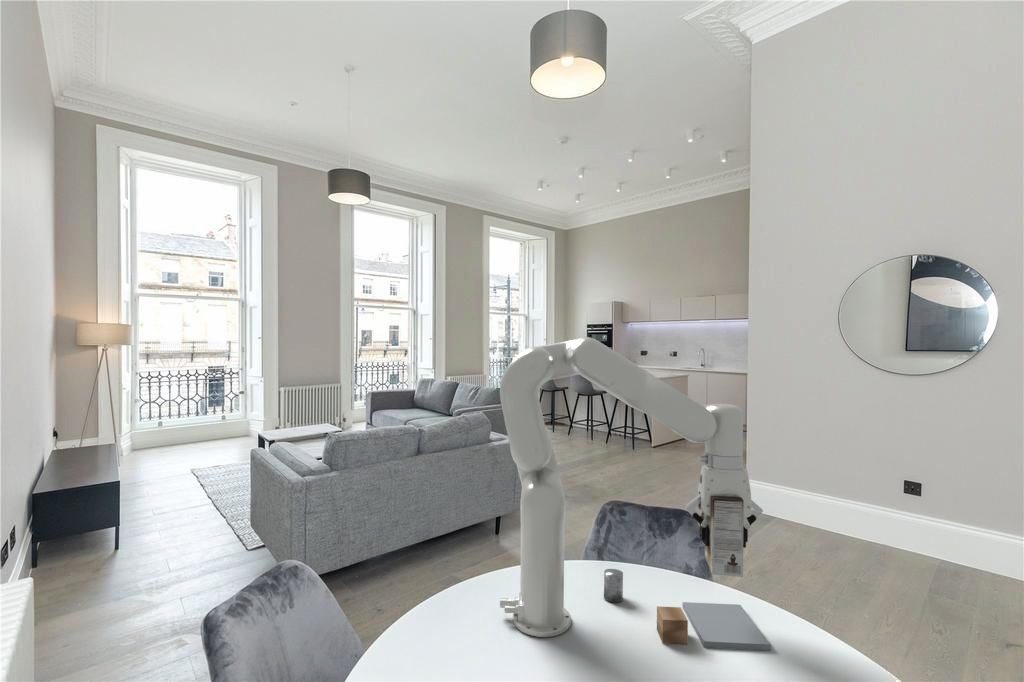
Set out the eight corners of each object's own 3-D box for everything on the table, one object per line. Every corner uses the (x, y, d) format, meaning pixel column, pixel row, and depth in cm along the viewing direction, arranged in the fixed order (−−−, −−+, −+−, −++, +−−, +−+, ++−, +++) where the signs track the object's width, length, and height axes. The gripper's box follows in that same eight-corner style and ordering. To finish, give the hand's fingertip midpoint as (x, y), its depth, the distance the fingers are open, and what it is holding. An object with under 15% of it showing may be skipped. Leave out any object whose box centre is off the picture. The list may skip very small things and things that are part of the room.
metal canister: (608, 603, 113) (608, 576, 113) (601, 594, 117) (601, 569, 118) (625, 601, 114) (626, 575, 114) (618, 593, 118) (618, 568, 119)
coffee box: (703, 556, 109) (703, 485, 110) (733, 559, 108) (734, 487, 108) (711, 575, 100) (712, 497, 101) (744, 578, 99) (745, 499, 99)
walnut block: (662, 644, 98) (662, 619, 98) (656, 630, 103) (656, 606, 103) (687, 645, 98) (687, 620, 98) (680, 631, 103) (680, 607, 103)
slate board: (703, 647, 97) (703, 641, 97) (682, 607, 112) (682, 602, 112) (770, 650, 96) (770, 644, 96) (740, 609, 111) (740, 604, 111)
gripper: (687, 464, 101) (687, 550, 101) (773, 467, 100) (773, 553, 100) (677, 456, 109) (677, 536, 109) (757, 458, 108) (757, 539, 107)
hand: (723, 543), depth 104 cm, fingers closed on coffee box, 6 cm apart
